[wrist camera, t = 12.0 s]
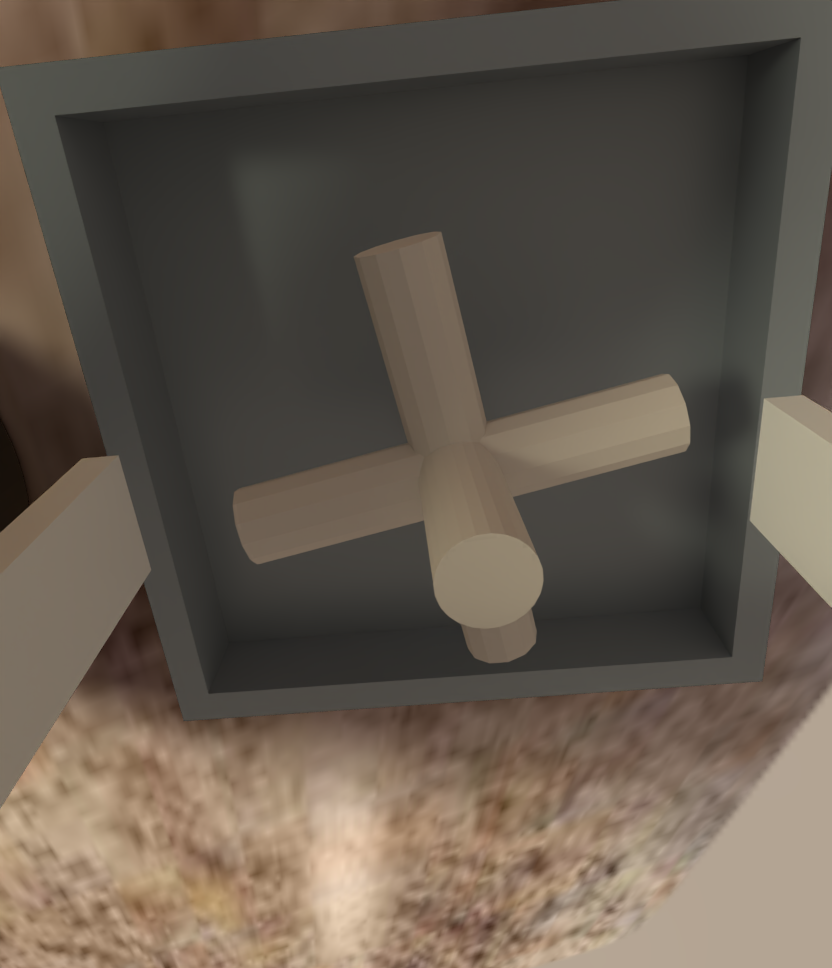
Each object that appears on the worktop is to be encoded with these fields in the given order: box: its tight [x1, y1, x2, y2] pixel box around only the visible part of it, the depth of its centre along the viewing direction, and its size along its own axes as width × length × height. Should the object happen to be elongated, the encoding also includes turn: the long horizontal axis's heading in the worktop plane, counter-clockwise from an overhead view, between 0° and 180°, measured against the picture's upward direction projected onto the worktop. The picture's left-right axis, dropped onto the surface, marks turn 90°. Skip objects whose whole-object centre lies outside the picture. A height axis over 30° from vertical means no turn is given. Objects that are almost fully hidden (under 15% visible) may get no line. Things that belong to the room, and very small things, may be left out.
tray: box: [0, 0, 832, 721], centre depth 20 cm, size 18×18×3 cm
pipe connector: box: [233, 232, 690, 663], centre depth 16 cm, size 10×10×10 cm
